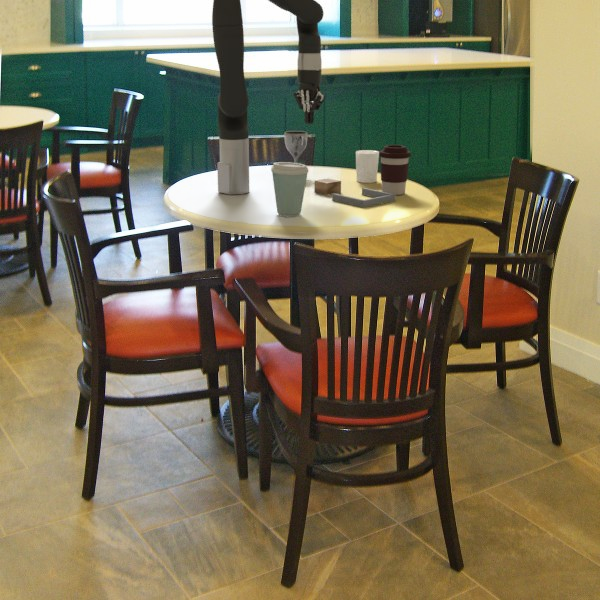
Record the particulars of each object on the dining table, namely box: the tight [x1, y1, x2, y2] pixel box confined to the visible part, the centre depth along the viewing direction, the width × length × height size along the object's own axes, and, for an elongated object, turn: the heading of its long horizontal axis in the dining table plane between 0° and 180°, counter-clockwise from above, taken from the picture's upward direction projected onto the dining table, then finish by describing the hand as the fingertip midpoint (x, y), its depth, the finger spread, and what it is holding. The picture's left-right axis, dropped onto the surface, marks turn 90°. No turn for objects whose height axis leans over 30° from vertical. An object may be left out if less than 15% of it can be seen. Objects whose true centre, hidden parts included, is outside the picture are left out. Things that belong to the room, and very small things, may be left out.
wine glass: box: [284, 130, 308, 163], centre depth 310 cm, size 8×8×15 cm
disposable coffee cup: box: [270, 161, 309, 218], centre depth 252 cm, size 11×11×15 cm
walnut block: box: [313, 177, 342, 196], centre depth 284 cm, size 6×6×4 cm
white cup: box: [355, 149, 380, 184], centre depth 301 cm, size 8×8×10 cm
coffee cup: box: [378, 144, 412, 196], centre depth 281 cm, size 10×10×15 cm
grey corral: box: [331, 187, 397, 208], centre depth 273 cm, size 14×14×2 cm
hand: (309, 123), depth 284 cm, fingers closed
